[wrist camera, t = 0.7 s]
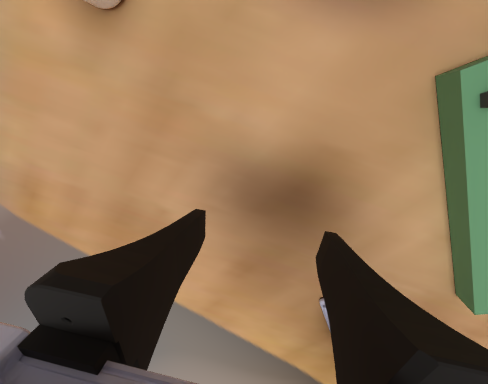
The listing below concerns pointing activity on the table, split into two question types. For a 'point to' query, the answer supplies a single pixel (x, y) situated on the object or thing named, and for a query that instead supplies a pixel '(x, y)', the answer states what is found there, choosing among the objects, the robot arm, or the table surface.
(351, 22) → the table surface
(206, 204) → the table surface
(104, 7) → the drinking glass
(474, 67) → the green board
